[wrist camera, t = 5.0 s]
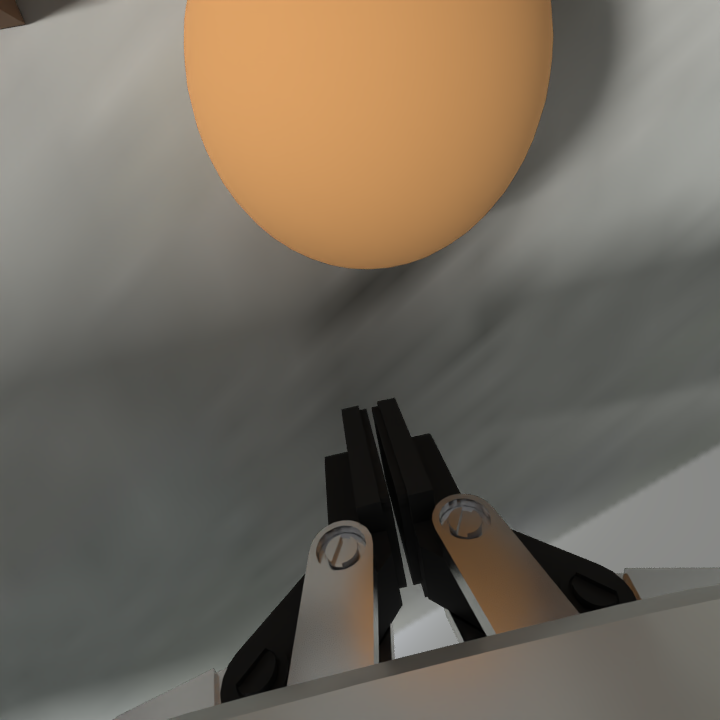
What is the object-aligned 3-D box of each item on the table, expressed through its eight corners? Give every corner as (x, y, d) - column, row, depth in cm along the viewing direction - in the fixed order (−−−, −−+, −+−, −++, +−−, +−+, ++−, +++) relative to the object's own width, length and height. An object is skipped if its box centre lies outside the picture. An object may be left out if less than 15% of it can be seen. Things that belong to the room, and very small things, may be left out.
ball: (66, -447, 4) (233, 52, 10) (100, 204, 4) (242, 292, 10) (670, -376, 4) (466, 58, 10) (671, 204, 4) (471, 288, 10)
